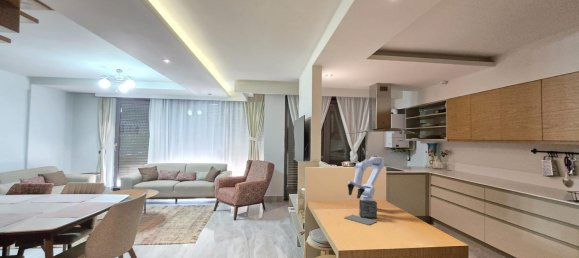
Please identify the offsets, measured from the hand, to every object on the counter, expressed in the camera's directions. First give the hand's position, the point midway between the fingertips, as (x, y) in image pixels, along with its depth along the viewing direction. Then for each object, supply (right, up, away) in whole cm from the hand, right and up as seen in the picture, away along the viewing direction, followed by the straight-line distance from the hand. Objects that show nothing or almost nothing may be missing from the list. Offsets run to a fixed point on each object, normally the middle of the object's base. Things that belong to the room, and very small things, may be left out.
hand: (354, 196), depth 180 cm
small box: (+6, -11, -11) cm, 16 cm away
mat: (0, -10, -17) cm, 20 cm away
